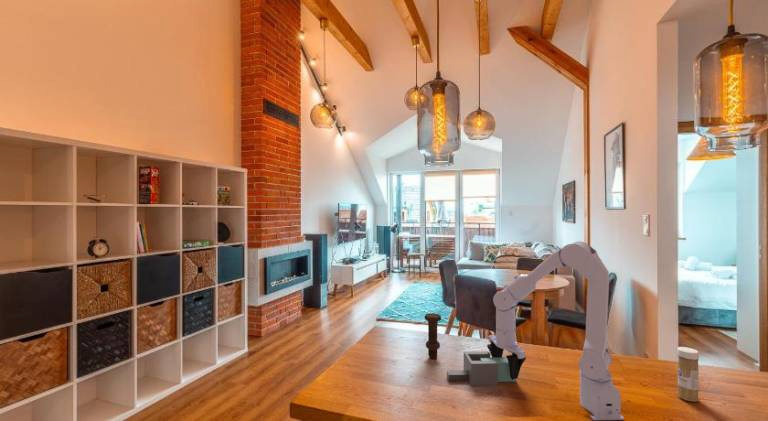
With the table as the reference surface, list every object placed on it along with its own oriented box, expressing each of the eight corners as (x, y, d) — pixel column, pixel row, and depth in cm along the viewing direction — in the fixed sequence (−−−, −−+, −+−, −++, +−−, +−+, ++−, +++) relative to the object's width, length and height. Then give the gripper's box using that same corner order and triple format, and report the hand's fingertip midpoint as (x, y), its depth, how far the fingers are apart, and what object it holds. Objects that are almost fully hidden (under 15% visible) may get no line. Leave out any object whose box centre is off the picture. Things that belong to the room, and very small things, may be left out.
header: (498, 385, 104) (498, 363, 104) (451, 386, 104) (451, 364, 104) (488, 371, 113) (488, 351, 113) (445, 372, 113) (445, 351, 113)
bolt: (441, 355, 126) (441, 313, 126) (441, 361, 121) (440, 317, 121) (425, 354, 127) (424, 312, 127) (424, 360, 122) (424, 316, 122)
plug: (516, 381, 107) (516, 362, 107) (483, 382, 107) (483, 363, 107) (511, 375, 111) (511, 357, 111) (479, 376, 111) (479, 357, 111)
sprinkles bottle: (673, 394, 99) (672, 346, 99) (687, 393, 100) (687, 345, 100) (688, 403, 95) (688, 353, 95) (703, 402, 95) (703, 352, 95)
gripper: (533, 335, 103) (533, 381, 103) (501, 320, 117) (501, 361, 117) (513, 338, 101) (513, 385, 101) (483, 322, 115) (483, 364, 115)
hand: (505, 372), depth 109 cm, fingers open, 7 cm apart
